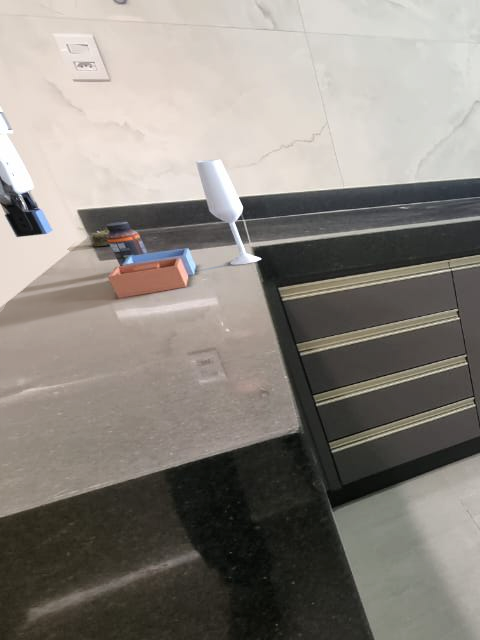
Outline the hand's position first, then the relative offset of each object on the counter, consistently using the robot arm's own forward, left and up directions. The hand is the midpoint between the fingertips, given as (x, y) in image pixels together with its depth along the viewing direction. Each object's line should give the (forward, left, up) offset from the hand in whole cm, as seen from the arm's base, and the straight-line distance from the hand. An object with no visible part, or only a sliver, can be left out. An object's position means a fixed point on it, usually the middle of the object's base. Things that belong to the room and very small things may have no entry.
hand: (34, 232), depth 98 cm
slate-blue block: (0, 0, 0) cm, 0 cm away
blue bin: (+13, +19, -15) cm, 27 cm away
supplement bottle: (+7, +31, -15) cm, 35 cm away
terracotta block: (+12, +7, -14) cm, 20 cm away
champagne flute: (+29, +20, -15) cm, 38 cm away
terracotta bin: (+12, +7, -15) cm, 20 cm away
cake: (-3, +81, -15) cm, 83 cm away
